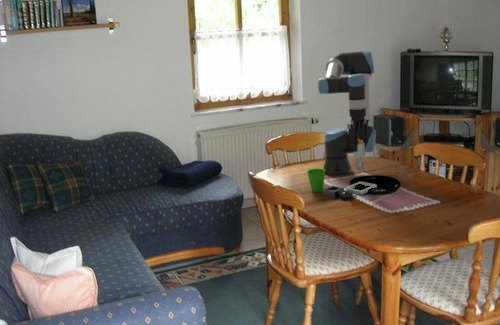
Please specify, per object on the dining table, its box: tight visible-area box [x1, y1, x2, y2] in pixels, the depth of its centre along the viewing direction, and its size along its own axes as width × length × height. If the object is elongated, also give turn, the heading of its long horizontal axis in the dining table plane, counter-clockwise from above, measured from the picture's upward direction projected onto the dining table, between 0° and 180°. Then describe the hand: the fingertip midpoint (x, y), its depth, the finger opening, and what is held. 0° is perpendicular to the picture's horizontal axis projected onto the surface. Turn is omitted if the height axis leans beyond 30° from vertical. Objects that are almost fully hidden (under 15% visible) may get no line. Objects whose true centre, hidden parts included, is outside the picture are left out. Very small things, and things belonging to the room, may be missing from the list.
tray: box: [344, 181, 378, 196], centre depth 285 cm, size 12×10×2 cm
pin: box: [355, 139, 365, 171], centre depth 280 cm, size 4×4×14 cm
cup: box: [306, 167, 325, 193], centre depth 288 cm, size 9×9×11 cm
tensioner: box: [320, 184, 357, 202], centre depth 279 cm, size 9×15×5 cm, turn 42°
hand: (359, 156), depth 281 cm, fingers closed on pin, 3 cm apart
